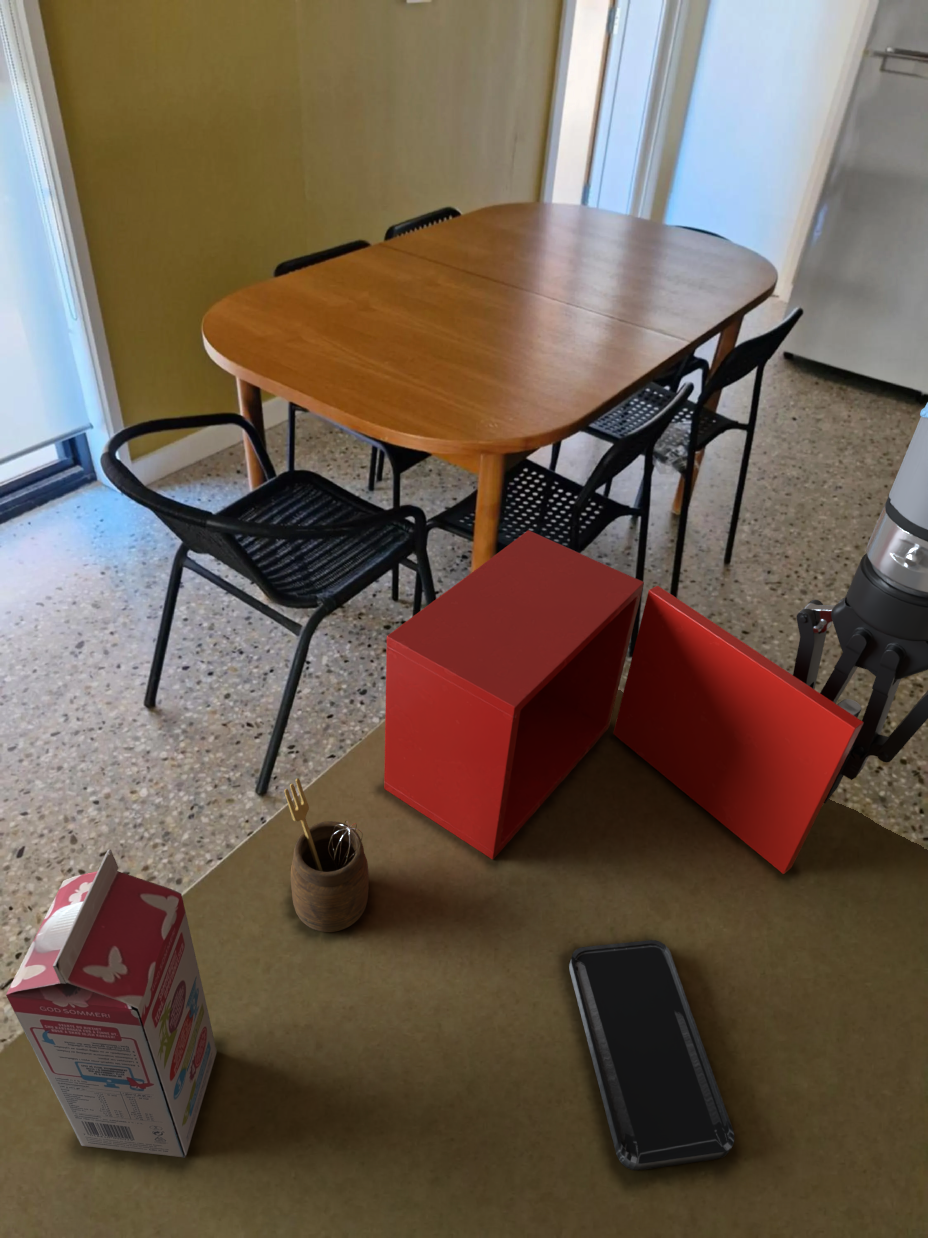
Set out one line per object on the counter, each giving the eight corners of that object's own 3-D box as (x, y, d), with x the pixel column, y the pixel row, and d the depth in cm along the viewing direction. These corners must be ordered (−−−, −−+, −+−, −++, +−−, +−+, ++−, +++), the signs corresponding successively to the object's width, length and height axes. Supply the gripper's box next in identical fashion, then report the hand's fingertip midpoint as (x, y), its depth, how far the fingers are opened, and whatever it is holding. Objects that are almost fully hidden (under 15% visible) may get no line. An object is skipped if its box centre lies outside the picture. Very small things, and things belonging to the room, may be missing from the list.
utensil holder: (338, 949, 67) (334, 853, 60) (274, 908, 70) (262, 810, 62) (383, 893, 71) (385, 796, 64) (322, 856, 74) (316, 758, 66)
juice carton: (81, 1145, 56) (-13, 958, 42) (121, 1040, 61) (49, 843, 47) (185, 1157, 56) (125, 973, 42) (217, 1051, 61) (172, 856, 47)
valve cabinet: (609, 728, 87) (644, 581, 76) (492, 860, 74) (514, 707, 63) (508, 674, 93) (528, 529, 81) (383, 789, 80) (386, 636, 68)
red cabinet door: (663, 702, 91) (704, 561, 80) (833, 832, 79) (908, 687, 68) (612, 734, 87) (648, 589, 76) (783, 875, 75) (855, 729, 64)
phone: (624, 1166, 56) (568, 948, 67) (620, 1173, 57) (565, 956, 68) (741, 1149, 57) (667, 938, 68) (737, 1156, 58) (663, 946, 69)
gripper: (799, 546, 66) (720, 762, 80) (1007, 641, 58) (878, 860, 73) (841, 511, 70) (759, 721, 85) (1039, 594, 63) (911, 809, 78)
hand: (814, 785), depth 79 cm, fingers closed on red cabinet door, 2 cm apart
